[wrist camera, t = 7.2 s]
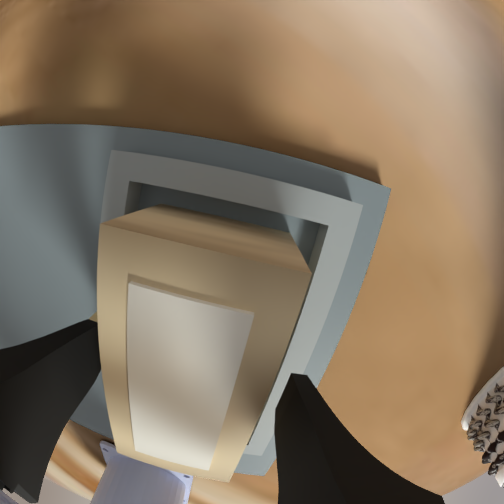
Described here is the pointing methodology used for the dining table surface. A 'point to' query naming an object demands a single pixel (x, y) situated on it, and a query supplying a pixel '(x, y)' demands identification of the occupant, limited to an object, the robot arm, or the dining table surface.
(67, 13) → the dining table surface
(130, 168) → the wall panel
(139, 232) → the tan box
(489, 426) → the decorative candle
